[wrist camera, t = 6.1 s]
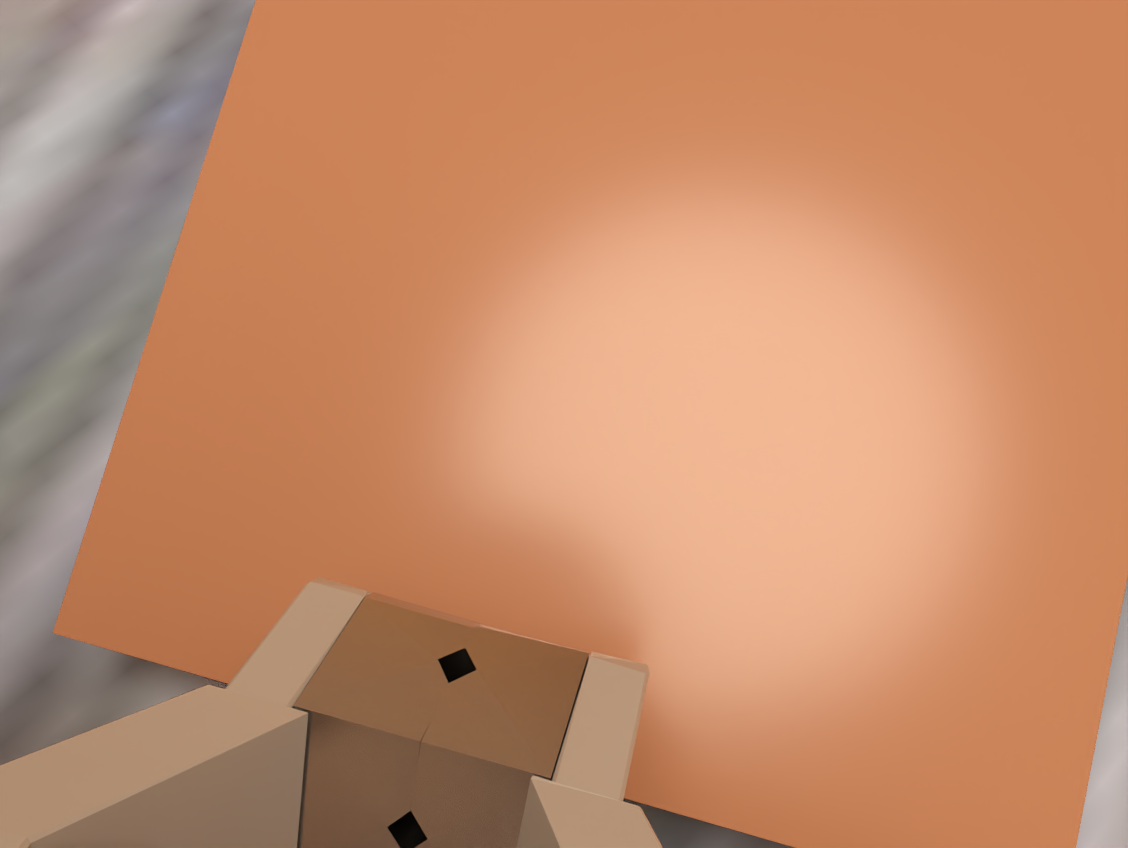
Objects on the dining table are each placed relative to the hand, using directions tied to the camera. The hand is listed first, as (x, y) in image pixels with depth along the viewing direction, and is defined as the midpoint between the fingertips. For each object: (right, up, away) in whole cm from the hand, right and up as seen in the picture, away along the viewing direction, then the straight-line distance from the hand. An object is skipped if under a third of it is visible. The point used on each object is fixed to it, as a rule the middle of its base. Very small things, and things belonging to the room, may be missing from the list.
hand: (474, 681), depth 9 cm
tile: (+1, -2, +4) cm, 4 cm away
